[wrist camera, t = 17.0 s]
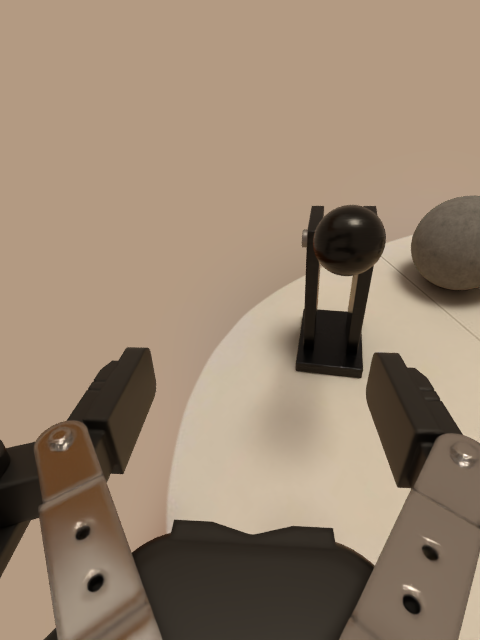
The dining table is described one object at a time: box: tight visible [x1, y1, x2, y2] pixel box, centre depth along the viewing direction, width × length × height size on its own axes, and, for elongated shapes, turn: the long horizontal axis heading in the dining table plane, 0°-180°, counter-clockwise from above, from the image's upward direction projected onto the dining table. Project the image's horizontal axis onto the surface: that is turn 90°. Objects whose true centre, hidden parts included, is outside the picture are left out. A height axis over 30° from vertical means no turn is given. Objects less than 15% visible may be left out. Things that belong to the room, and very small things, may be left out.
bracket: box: [296, 206, 377, 378], centre depth 31 cm, size 8×6×14 cm
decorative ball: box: [411, 196, 480, 290], centre depth 38 cm, size 10×10×10 cm
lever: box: [313, 205, 386, 276], centre depth 22 cm, size 14×3×3 cm, turn 167°
